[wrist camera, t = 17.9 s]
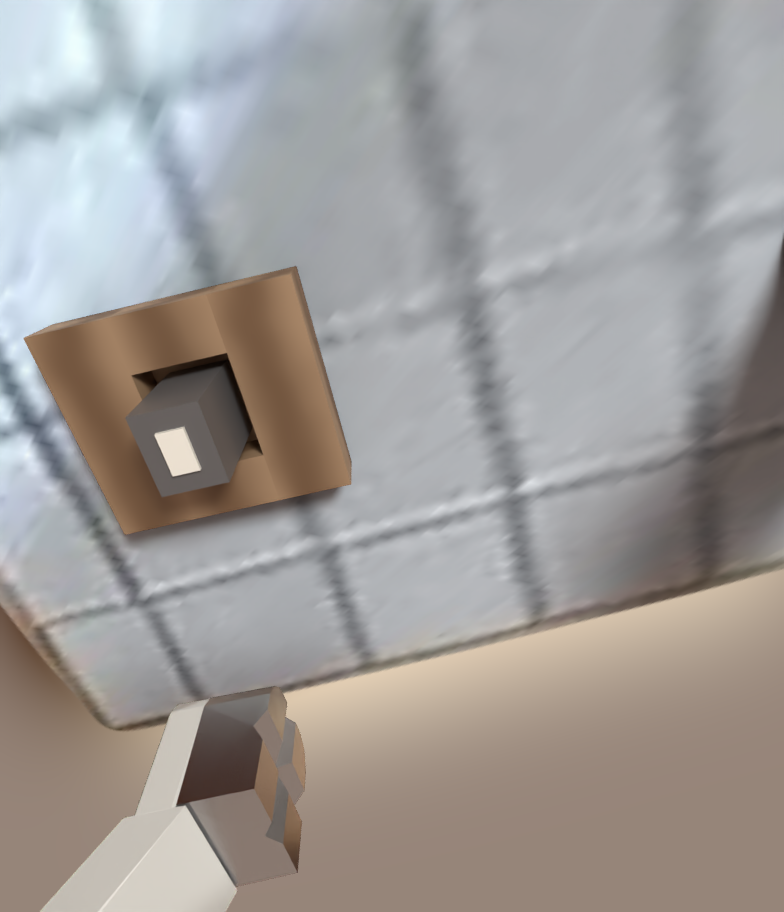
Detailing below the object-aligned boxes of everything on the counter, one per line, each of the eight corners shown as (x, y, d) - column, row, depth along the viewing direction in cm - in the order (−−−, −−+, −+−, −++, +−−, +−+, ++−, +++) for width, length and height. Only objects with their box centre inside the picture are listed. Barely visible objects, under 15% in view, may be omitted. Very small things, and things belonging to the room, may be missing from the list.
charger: (228, 358, 37) (196, 402, 30) (252, 427, 39) (228, 484, 32) (169, 372, 37) (123, 419, 30) (196, 439, 39) (160, 499, 32)
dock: (296, 266, 35) (290, 274, 32) (351, 461, 41) (351, 484, 38) (52, 324, 36) (23, 338, 33) (142, 508, 42) (124, 534, 39)
